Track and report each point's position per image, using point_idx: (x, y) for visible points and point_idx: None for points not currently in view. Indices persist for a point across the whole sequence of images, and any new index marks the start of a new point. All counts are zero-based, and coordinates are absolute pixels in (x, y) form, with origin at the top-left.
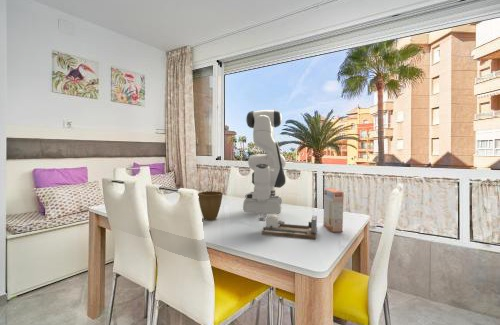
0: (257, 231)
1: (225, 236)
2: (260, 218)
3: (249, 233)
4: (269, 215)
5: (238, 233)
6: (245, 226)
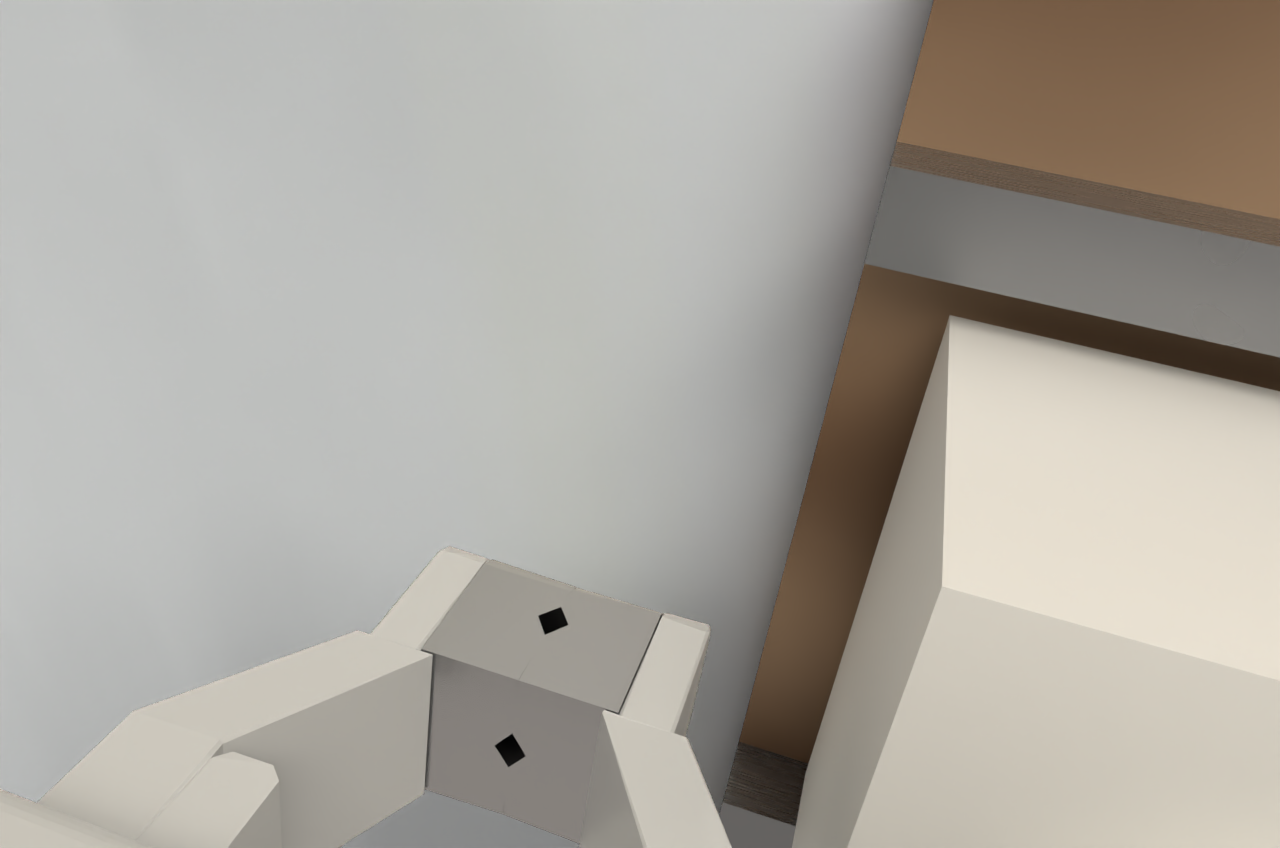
0: None
1: None
2: (457, 778)
3: None
4: (977, 699)
5: None
6: (65, 85)
